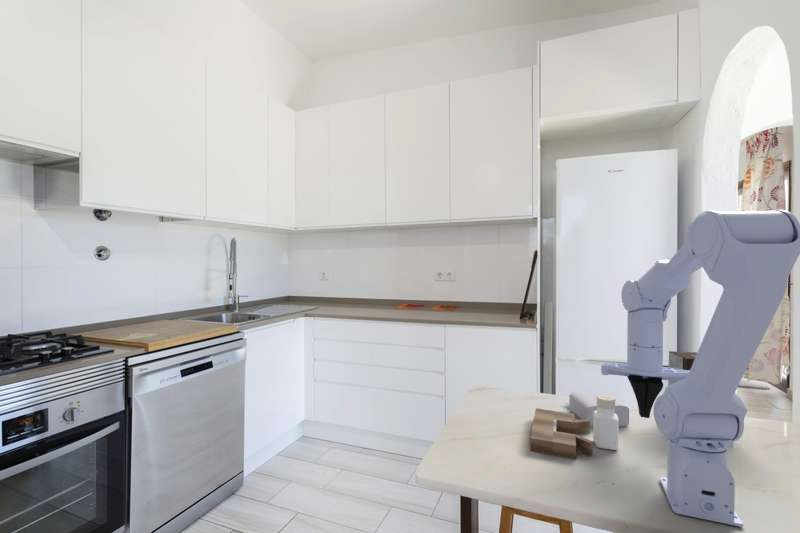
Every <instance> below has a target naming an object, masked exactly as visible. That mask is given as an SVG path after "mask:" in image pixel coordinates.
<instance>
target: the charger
mask: <svg viewBox="0 0 800 533" xmlns="http://www.w3.org/2000/svg"><path fill="white" fill-rule="evenodd" d="M598 395H607V396H610V395H609V394H607V393H605V392H603V391H602V392H601V391H600V392H599V391H598V392H596V391H594V392H589V391H575V392H571V393H570V394H569V395H568V397H569V410H570V411H571V412H572V413H573V414H574V415H575V416H576V417H578V419H579V420H583V419H587V420H589V421H590V426H593V412H594V411H597V396H598ZM615 414H616V415H617V417H618V419H619V427H627V426H629V425H630V408H629V407H628V406H627V405H625V404H623V403H622V402H620V401H618V400H617V399H615Z"/></svg>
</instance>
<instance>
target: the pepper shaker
mask: <svg viewBox="0 0 800 533" xmlns="http://www.w3.org/2000/svg"><path fill="white" fill-rule="evenodd" d="M607 395H608V394H607ZM607 395H598V396H597V411H594V412H593V428H592V432H593V433H592V434H593V436H592V437H593V438H592V439H593V443H594V444H595V446H596V448H598V449H605V450H612V451H617V450H619V446H620V444H619V441H620V439H619V432H620V431H619V430H620V428H619V427H620V426H619V419H618V417H617V415H616V414H615V400H616V398H615V397H613V396H611V395H609V396H607Z"/></svg>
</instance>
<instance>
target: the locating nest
mask: <svg viewBox="0 0 800 533" xmlns="http://www.w3.org/2000/svg"><path fill="white" fill-rule="evenodd" d="M590 432H591V427H590V421H589V420H587V419H583V420H581V419H575V414H574V413H573V412H572V413H571V412H565V411H556V410H548V409H543V408H542V409H541V408H535V411H534V416H533V422H532V428H531V433H530V437H529V451H530V452H533V453H538V454H539V453H540V454H543V455H544V454H545V455H551V456H557V457H562V458H567V459H574V460H577V452H579V453H581V454H584V455H587V456H589V457H591V456H593V455H594V440H590V439H588V438H585V437H582V436H580V435H582V434H590Z"/></svg>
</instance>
